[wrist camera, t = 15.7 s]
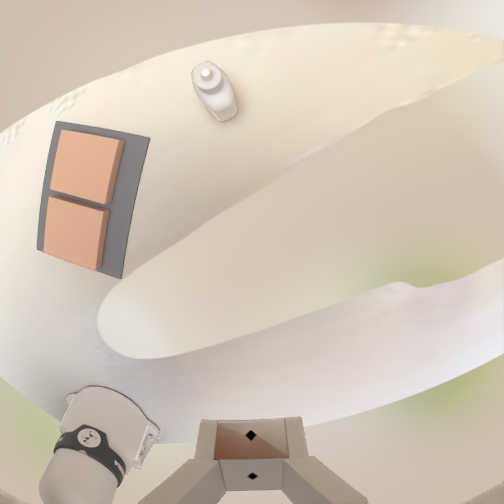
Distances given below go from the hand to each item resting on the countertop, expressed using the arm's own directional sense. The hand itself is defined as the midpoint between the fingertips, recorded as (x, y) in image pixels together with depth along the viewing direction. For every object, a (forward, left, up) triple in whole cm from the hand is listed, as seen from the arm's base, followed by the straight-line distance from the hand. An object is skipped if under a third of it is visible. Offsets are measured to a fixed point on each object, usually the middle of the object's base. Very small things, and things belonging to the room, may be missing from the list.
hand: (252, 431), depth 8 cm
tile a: (-7, +18, -30) cm, 35 cm away
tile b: (+2, +18, -30) cm, 35 cm away
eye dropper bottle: (+14, +8, -31) cm, 35 cm away
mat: (-2, +22, -31) cm, 38 cm away
